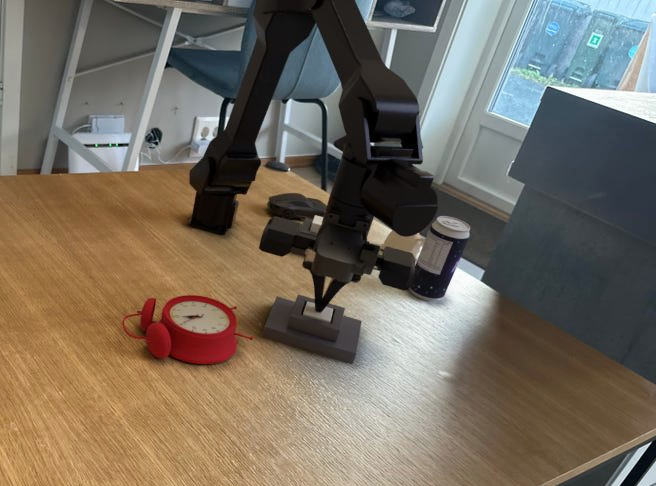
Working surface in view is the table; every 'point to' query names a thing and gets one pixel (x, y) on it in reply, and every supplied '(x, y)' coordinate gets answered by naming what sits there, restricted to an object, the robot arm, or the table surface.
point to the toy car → (296, 206)
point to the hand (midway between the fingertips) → (318, 310)
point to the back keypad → (304, 229)
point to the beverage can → (439, 257)
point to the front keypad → (313, 329)
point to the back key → (316, 224)
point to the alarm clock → (190, 329)
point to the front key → (322, 316)
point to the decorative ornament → (404, 242)
